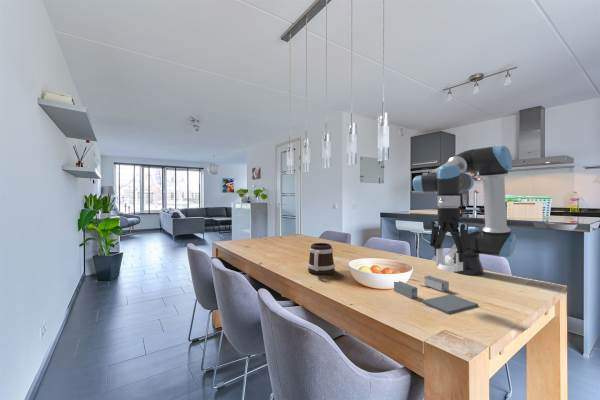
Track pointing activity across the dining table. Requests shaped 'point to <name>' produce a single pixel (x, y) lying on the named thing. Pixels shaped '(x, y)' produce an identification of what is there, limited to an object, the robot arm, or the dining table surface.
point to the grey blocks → (429, 281)
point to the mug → (321, 259)
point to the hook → (449, 260)
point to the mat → (449, 303)
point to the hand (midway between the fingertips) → (449, 267)
